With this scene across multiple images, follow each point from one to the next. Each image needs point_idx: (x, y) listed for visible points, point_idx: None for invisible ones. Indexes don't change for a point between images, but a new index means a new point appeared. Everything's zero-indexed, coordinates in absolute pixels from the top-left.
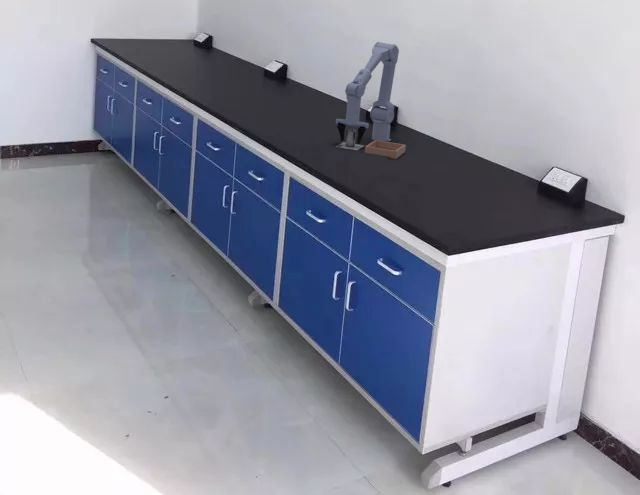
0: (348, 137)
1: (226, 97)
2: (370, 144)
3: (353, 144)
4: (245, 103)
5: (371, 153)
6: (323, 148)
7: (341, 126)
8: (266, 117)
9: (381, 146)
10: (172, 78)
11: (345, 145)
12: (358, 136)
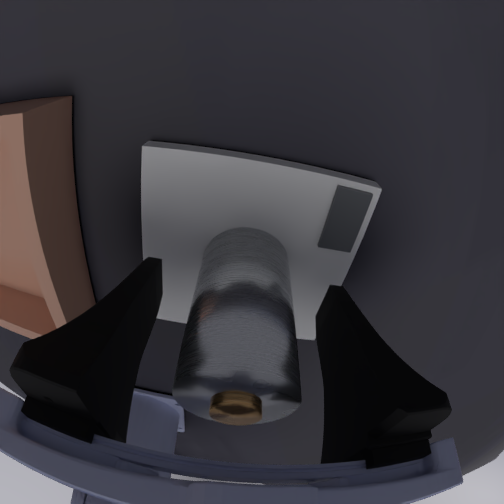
0: (264, 298)
1: (485, 444)
2: (24, 223)
3: (206, 256)
4: (475, 445)
5: (15, 104)
6: (463, 164)
7: (400, 417)
8: (485, 422)
9: (47, 308)
10: (500, 446)
11: (290, 268)
12: (123, 305)
